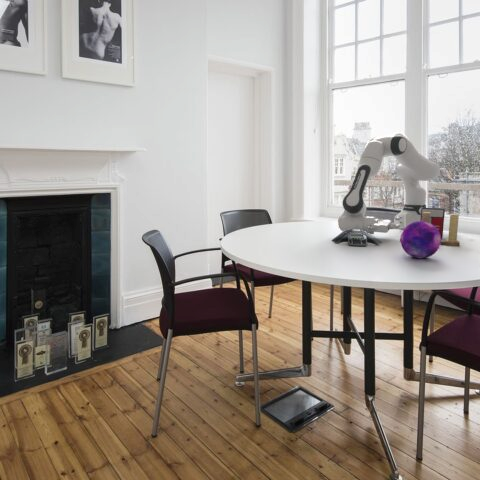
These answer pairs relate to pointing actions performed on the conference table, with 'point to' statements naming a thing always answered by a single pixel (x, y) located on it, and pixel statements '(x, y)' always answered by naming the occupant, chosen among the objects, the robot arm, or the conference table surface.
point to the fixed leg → (453, 228)
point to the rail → (448, 243)
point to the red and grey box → (436, 218)
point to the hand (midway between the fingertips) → (399, 226)
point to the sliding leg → (426, 216)
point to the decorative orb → (420, 239)
